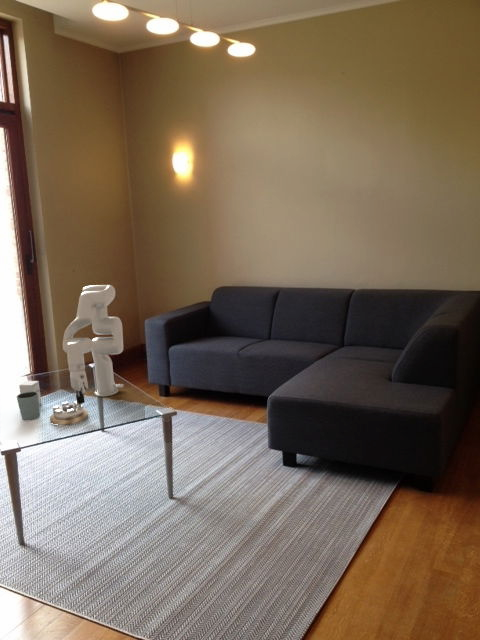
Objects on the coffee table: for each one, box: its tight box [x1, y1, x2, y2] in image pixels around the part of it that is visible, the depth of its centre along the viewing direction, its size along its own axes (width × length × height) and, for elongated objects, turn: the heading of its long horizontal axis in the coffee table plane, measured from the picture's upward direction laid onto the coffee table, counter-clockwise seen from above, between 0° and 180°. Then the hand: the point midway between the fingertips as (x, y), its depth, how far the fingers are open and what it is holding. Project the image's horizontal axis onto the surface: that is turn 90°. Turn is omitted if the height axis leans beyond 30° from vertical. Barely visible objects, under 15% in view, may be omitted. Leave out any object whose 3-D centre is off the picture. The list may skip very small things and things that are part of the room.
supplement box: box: [18, 380, 42, 405], centre depth 306 cm, size 7×7×13 cm
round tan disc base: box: [49, 408, 89, 426], centre depth 285 cm, size 18×18×3 cm
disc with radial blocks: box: [52, 397, 84, 420], centre depth 283 cm, size 14×14×10 cm
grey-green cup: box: [16, 392, 41, 421], centre depth 289 cm, size 10×10×12 cm
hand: (80, 403), depth 282 cm, fingers closed
